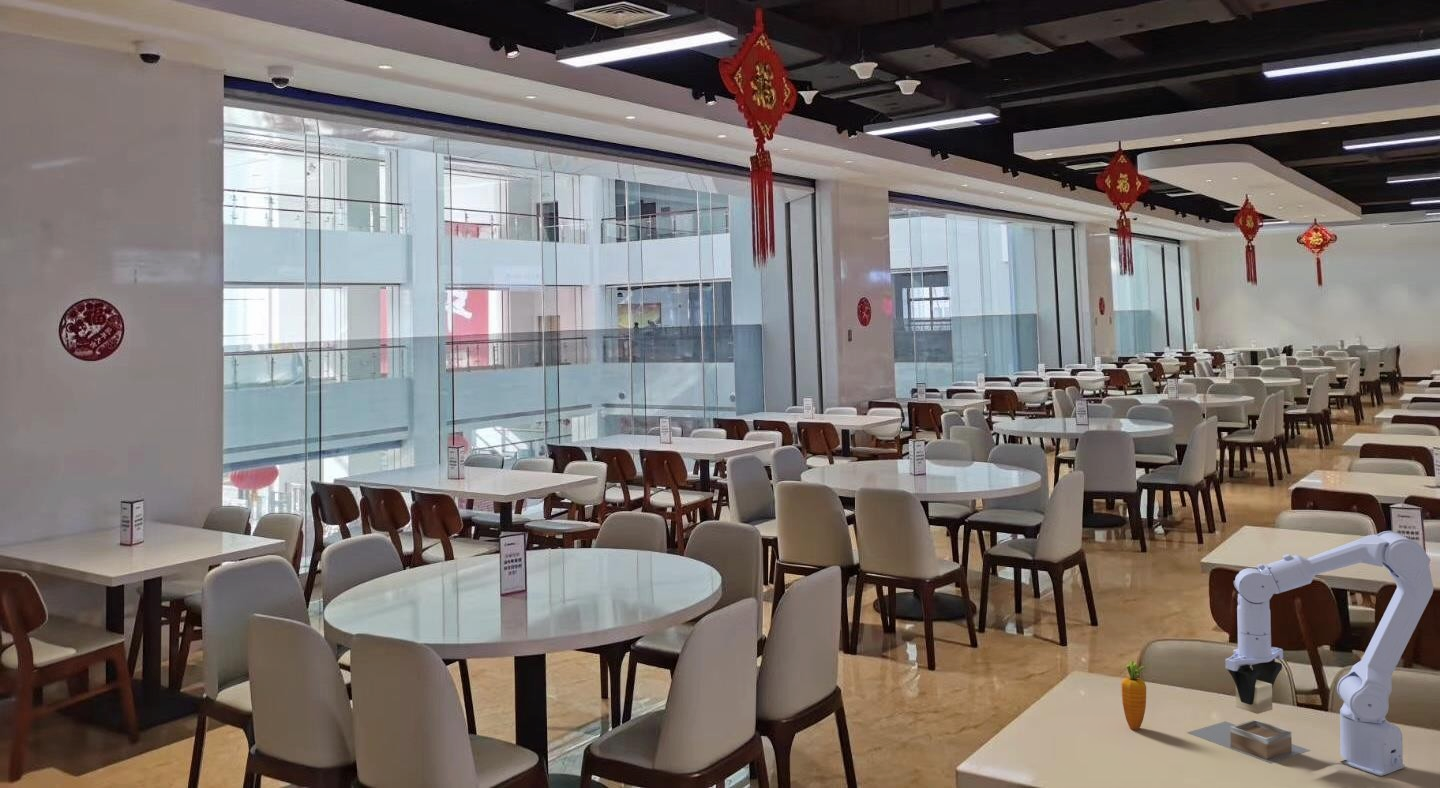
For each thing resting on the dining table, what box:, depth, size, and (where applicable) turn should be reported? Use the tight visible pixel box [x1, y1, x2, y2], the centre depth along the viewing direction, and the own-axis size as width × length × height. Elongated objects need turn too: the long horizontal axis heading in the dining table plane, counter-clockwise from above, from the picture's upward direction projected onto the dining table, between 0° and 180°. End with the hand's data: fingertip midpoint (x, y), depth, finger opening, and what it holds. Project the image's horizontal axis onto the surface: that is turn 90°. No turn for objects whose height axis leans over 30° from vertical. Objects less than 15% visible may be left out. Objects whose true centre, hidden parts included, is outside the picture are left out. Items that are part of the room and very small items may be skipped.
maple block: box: [1235, 680, 1273, 715], centre depth 193 cm, size 4×4×5 cm
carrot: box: [1120, 661, 1147, 731], centre depth 205 cm, size 5×5×15 cm
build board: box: [1186, 721, 1311, 764], centre depth 197 cm, size 18×12×1 cm, turn 27°
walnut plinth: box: [1230, 719, 1293, 760], centre depth 192 cm, size 8×8×4 cm
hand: (1255, 700), depth 193 cm, fingers closed on maple block, 4 cm apart
